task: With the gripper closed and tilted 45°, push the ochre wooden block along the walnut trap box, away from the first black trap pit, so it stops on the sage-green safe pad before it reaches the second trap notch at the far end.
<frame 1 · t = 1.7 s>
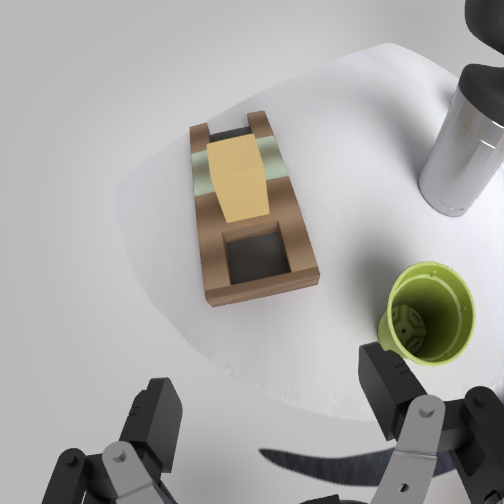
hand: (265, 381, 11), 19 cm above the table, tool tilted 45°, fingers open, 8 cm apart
ochre block: (244, 201, 34), point 3 cm above the table, touching trap box
plant pot: (400, 331, 28), on the table
trap box: (243, 196, 38), on the table
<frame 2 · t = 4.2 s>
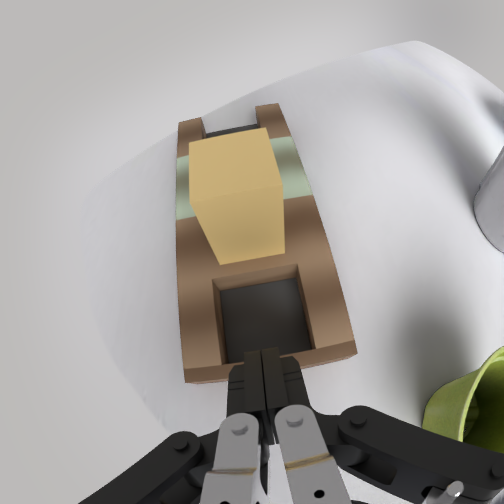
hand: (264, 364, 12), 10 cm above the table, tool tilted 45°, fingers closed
ochre block: (247, 231, 23), point 3 cm above the table, touching trap box
plant pot: (448, 415, 17), on the table
trap box: (247, 221, 27), on the table
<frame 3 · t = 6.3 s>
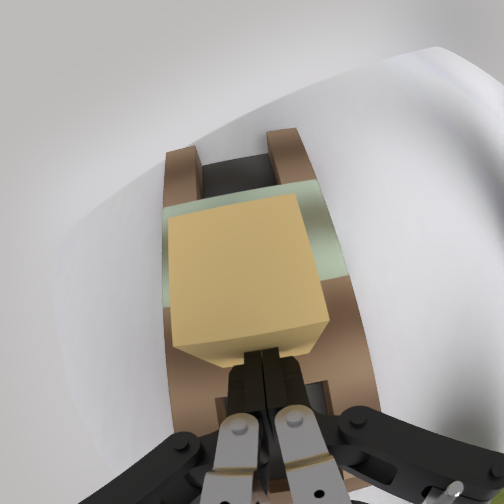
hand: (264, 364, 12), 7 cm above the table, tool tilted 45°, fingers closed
ochre block: (258, 320, 17), point 3 cm above the table, touching gripper, trap box
plant pot: (469, 502, 10), on the table
trap box: (258, 300, 21), on the table
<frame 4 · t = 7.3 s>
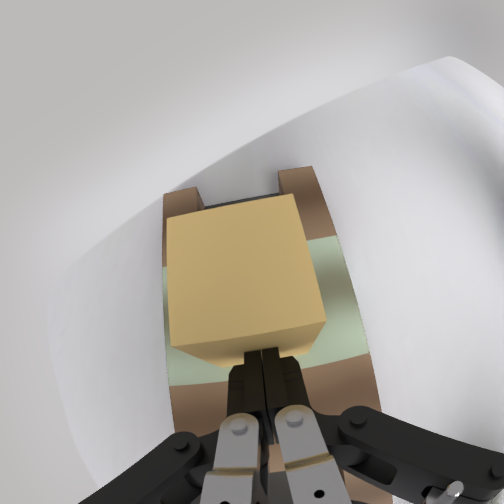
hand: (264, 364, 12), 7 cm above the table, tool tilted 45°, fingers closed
ochre block: (257, 320, 17), point 3 cm above the table, touching gripper, trap box
trap box: (270, 370, 18), on the table
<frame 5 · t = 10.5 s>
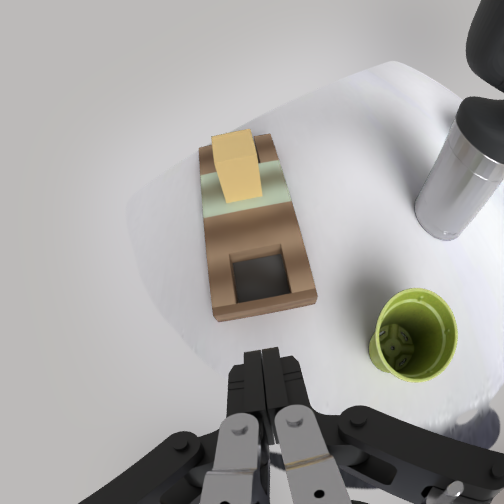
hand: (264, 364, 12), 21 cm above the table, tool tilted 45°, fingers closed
ochre block: (241, 186, 40), point 3 cm above the table, touching trap box
plant pot: (390, 348, 31), on the table
trap box: (249, 218, 41), on the table
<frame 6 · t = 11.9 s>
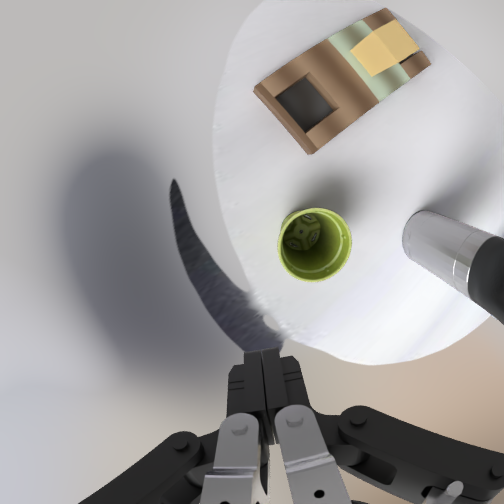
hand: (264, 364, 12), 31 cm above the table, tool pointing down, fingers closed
ochre block: (371, 56, 32), point 3 cm above the table, touching trap box
plant pot: (300, 229, 43), on the table
trap box: (349, 73, 36), on the table
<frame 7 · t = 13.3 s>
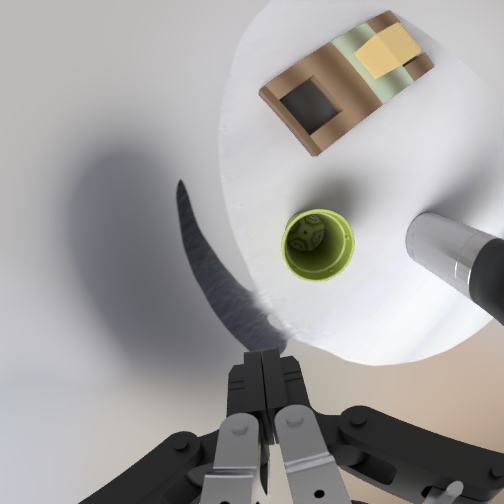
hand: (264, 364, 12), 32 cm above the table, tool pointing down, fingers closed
ochre block: (375, 59, 33), point 3 cm above the table, touching trap box
plant pot: (304, 230, 44), on the table
trap box: (353, 75, 36), on the table
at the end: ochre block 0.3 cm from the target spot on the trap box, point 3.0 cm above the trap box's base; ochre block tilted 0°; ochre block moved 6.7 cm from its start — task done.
